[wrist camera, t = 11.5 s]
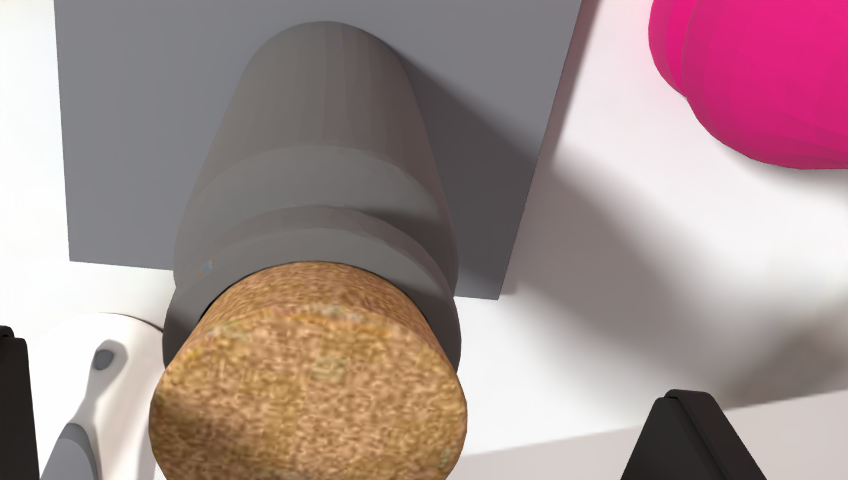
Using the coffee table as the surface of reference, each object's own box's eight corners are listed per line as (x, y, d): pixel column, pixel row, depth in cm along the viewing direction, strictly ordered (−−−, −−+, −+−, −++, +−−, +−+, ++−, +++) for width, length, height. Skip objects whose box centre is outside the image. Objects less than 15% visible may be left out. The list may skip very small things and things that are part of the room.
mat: (590, -80, 23) (603, -76, 22) (492, 284, 29) (497, 300, 28) (57, -189, 20) (42, -191, 19) (79, 244, 26) (69, 261, 25)
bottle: (449, 84, 23) (585, 384, 10) (354, 216, 25) (368, 604, 12) (295, -21, 21) (225, 192, 8) (205, 132, 23) (36, 495, 10)
